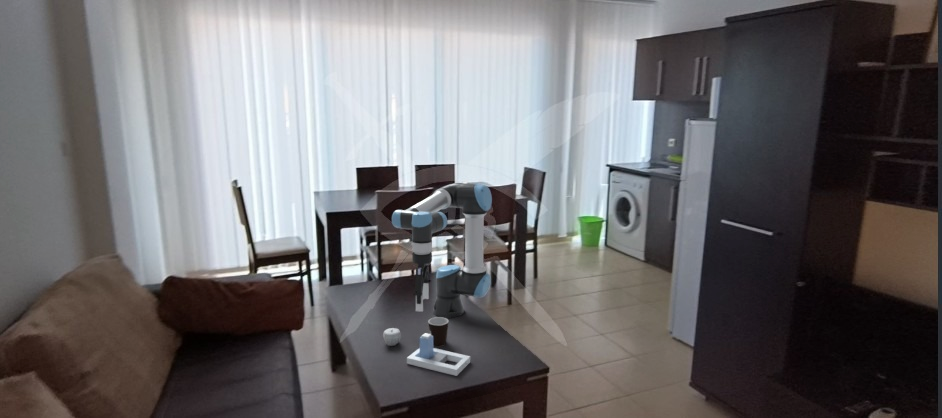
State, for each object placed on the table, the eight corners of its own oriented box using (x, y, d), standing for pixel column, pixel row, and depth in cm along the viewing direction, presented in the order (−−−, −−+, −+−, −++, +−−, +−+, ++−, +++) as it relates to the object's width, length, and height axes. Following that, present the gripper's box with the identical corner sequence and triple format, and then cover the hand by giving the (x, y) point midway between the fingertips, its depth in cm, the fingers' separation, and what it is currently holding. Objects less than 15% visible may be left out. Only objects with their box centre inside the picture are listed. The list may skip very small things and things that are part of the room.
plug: (424, 356, 211) (424, 332, 209) (433, 358, 209) (433, 333, 207) (419, 361, 207) (419, 335, 205) (428, 363, 206) (428, 337, 203)
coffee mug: (445, 348, 218) (445, 326, 216) (426, 346, 220) (425, 324, 218) (452, 336, 229) (452, 315, 228) (433, 334, 231) (433, 313, 229)
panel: (422, 351, 216) (422, 345, 215) (470, 362, 207) (470, 356, 206) (407, 363, 205) (406, 357, 205) (456, 375, 196) (456, 369, 195)
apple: (394, 338, 228) (394, 324, 226) (405, 344, 222) (405, 329, 221) (379, 344, 222) (378, 329, 221) (390, 350, 217) (389, 335, 215)
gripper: (418, 244, 212) (418, 293, 216) (405, 260, 187) (406, 316, 191) (436, 244, 211) (436, 294, 215) (426, 261, 187) (426, 317, 191)
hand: (422, 304), depth 203 cm, fingers open, 13 cm apart
